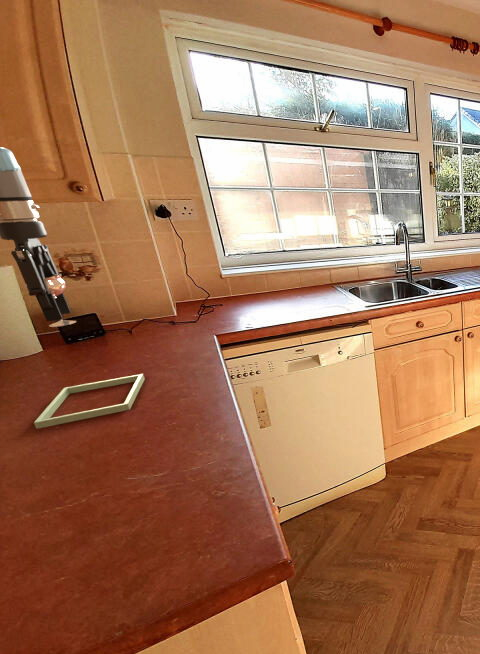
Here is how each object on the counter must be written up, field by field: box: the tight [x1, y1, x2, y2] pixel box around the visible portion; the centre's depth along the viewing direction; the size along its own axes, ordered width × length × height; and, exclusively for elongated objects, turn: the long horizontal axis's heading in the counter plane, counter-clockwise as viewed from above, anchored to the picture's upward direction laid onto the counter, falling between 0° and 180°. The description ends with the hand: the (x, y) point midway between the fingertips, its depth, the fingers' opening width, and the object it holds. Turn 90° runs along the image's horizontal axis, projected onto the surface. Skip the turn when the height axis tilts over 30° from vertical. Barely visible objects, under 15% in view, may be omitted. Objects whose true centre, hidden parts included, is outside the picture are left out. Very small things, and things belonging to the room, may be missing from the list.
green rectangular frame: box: [33, 373, 146, 430], centre depth 102 cm, size 16×20×3 cm
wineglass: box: [22, 273, 77, 328], centre depth 104 cm, size 7×7×12 cm
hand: (59, 316), depth 106 cm, fingers closed on wineglass, 6 cm apart
